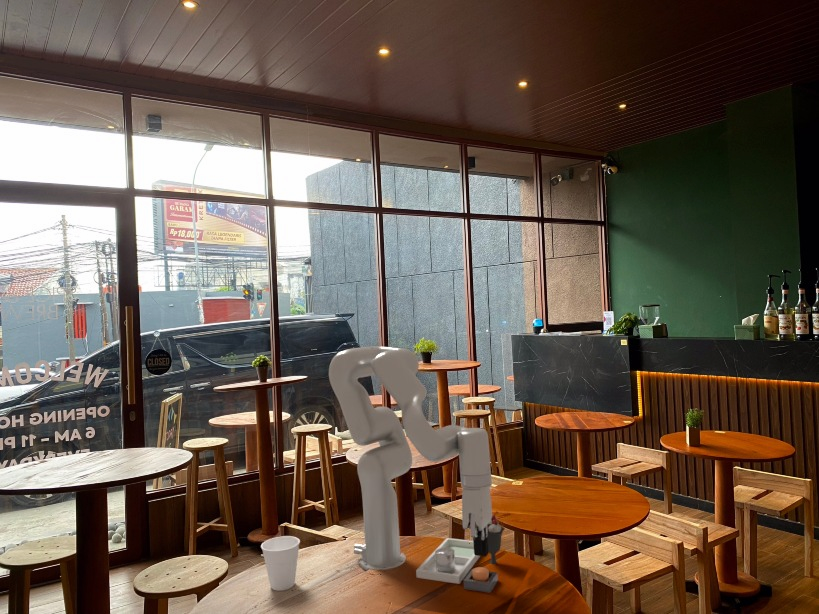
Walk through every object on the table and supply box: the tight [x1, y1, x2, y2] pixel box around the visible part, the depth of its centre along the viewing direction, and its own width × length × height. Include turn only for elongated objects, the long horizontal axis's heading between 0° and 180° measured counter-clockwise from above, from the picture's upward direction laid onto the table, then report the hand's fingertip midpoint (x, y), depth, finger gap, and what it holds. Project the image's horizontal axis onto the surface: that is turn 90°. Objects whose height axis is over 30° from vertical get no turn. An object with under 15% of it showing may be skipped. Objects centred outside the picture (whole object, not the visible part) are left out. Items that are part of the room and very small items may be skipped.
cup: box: [260, 535, 301, 592], centre depth 153 cm, size 10×10×11 cm
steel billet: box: [434, 548, 455, 574], centre depth 154 cm, size 5×5×5 cm
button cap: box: [471, 566, 490, 582], centre depth 145 cm, size 4×4×2 cm
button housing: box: [463, 568, 499, 594], centre depth 145 cm, size 7×7×3 cm
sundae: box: [487, 511, 506, 565], centre depth 157 cm, size 7×7×15 cm
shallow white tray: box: [415, 537, 481, 585], centre depth 159 cm, size 12×22×3 cm, turn 156°
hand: (481, 554), depth 145 cm, fingers closed
